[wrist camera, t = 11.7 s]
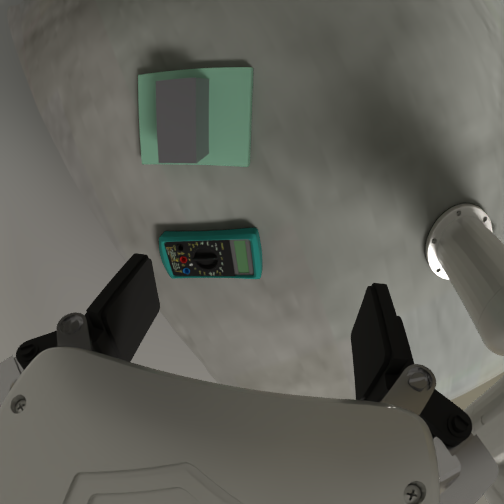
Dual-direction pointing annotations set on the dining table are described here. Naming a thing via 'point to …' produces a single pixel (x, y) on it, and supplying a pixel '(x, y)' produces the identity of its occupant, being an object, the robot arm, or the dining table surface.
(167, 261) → the digital multimeter
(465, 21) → the dining table surface
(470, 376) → the dining table surface
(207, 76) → the board
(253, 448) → the robot arm
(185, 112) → the block
